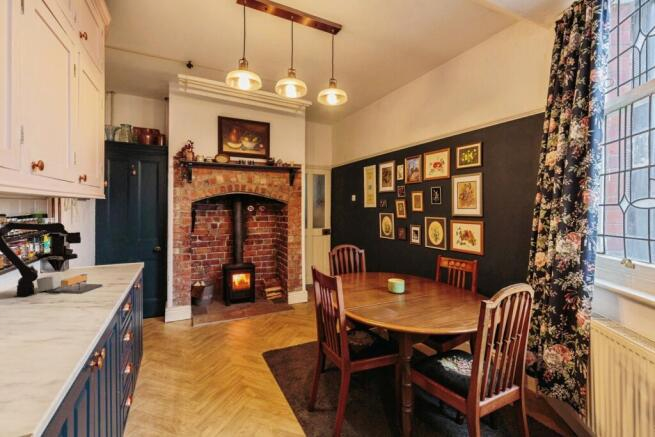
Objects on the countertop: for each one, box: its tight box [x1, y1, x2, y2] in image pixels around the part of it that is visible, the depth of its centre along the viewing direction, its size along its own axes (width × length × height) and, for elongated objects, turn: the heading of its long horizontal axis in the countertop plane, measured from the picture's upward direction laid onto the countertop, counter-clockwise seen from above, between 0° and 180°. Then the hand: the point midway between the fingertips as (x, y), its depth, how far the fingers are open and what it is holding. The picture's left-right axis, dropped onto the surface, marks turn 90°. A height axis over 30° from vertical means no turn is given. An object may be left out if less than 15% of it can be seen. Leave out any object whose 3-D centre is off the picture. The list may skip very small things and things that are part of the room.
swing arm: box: [61, 273, 88, 286], centre depth 178 cm, size 16×4×3 cm, turn 1°
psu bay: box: [46, 280, 103, 294], centre depth 178 cm, size 16×20×4 cm
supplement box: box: [36, 273, 64, 292], centre depth 176 cm, size 7×7×13 cm
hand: (57, 270), depth 173 cm, fingers closed
